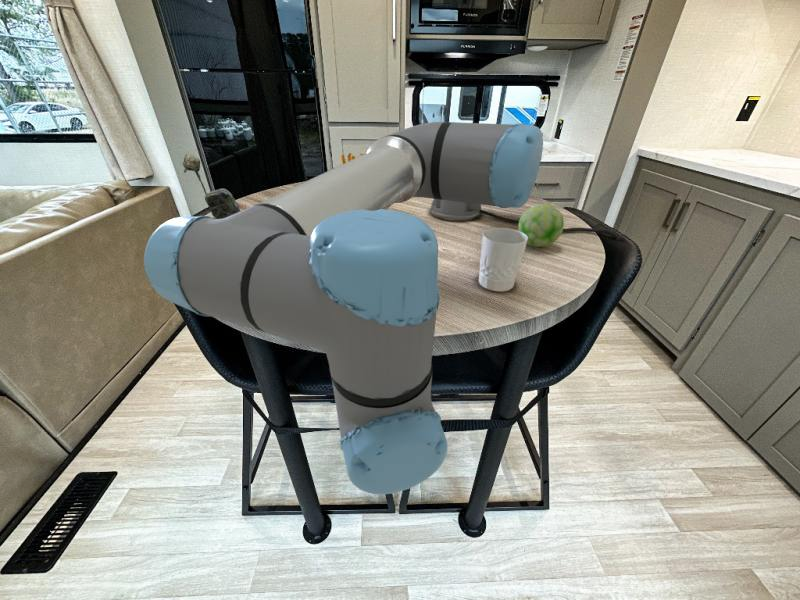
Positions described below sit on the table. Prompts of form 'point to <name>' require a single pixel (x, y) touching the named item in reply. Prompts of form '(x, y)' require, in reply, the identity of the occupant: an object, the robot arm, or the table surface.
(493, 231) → the white cup
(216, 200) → the plant with pod
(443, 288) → the table surface
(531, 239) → the decorative ball
